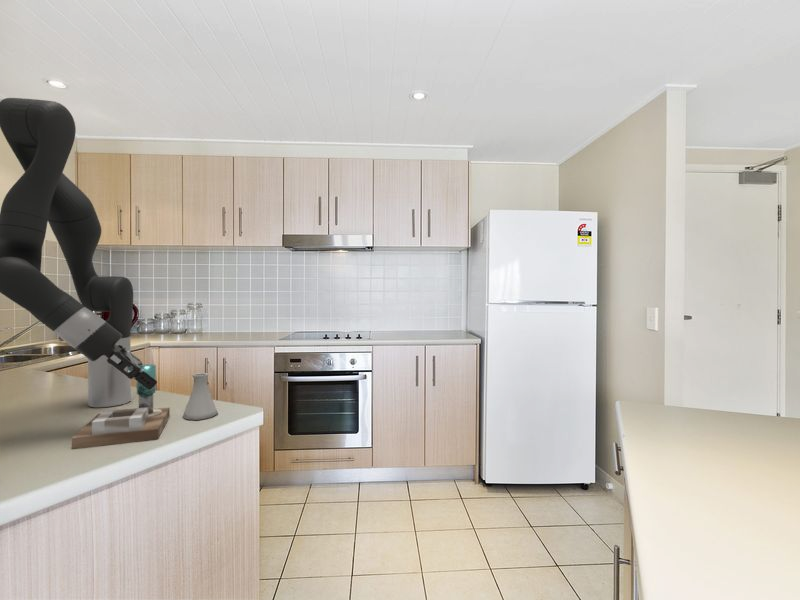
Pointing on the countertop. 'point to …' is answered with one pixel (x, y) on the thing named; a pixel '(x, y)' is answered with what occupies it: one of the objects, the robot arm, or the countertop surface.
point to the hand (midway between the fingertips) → (153, 382)
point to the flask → (200, 400)
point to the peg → (145, 393)
